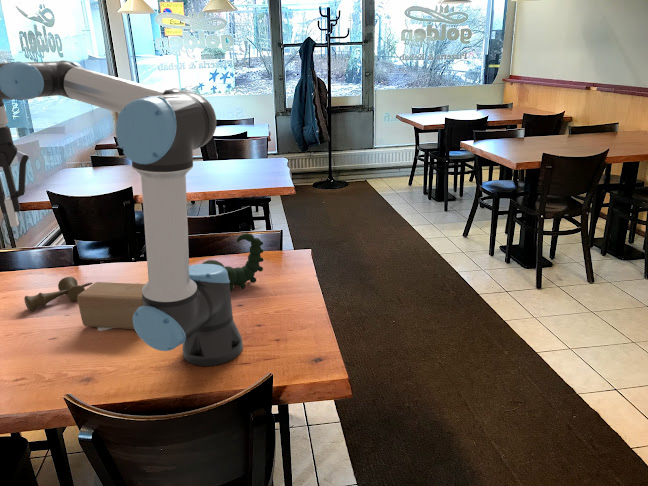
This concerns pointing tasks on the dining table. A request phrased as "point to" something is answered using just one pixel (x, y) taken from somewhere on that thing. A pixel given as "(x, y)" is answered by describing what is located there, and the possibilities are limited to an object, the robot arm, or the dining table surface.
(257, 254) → the toy figurine
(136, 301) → the wooden block
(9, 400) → the dining table surface
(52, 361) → the dining table surface
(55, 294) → the kendama
